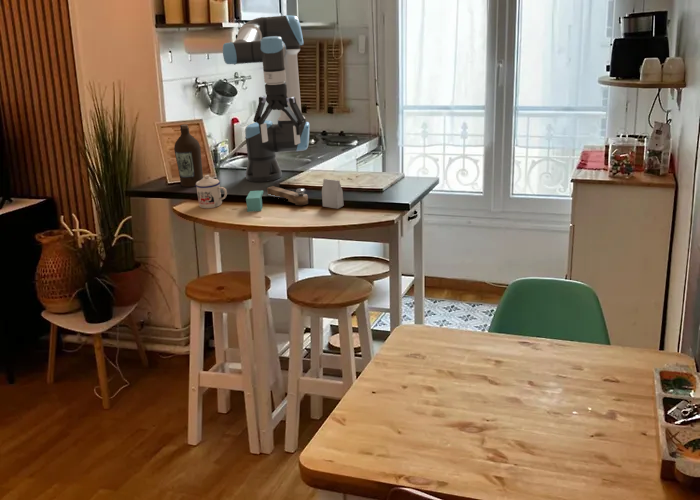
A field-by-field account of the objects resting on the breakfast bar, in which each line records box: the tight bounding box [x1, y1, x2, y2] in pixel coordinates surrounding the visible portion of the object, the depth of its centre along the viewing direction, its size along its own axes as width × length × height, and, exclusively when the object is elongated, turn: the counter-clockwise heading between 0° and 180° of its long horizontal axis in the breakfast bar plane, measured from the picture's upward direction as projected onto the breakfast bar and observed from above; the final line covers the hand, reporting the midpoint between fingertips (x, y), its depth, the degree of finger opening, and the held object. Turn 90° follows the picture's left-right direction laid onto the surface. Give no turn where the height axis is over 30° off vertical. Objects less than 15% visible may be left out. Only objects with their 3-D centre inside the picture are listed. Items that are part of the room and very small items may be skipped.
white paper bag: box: [321, 178, 345, 210], centre depth 274 cm, size 4×7×10 cm, turn 56°
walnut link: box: [266, 185, 309, 206], centre depth 285 cm, size 21×5×3 cm, turn 43°
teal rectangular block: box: [245, 189, 264, 213], centre depth 279 cm, size 10×5×5 cm, turn 178°
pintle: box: [295, 187, 306, 196], centre depth 278 cm, size 3×3×2 cm
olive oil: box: [173, 123, 204, 188], centre depth 311 cm, size 11×11×25 cm
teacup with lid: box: [195, 174, 228, 209], centre depth 283 cm, size 12×9×12 cm
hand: (281, 142), depth 268 cm, fingers open, 13 cm apart
